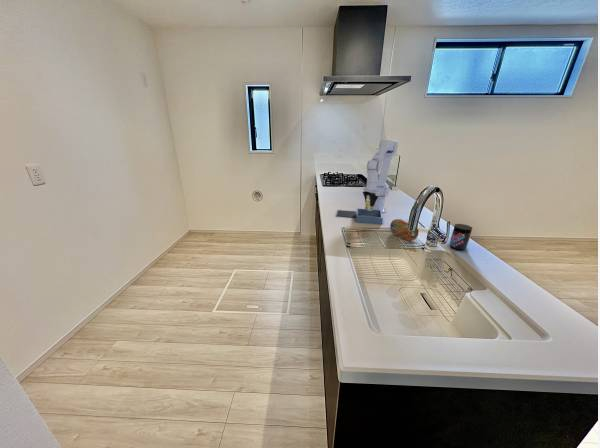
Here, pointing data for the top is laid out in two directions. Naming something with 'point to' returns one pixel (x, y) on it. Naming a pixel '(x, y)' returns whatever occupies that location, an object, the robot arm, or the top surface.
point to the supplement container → (460, 237)
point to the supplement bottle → (368, 204)
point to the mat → (346, 213)
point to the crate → (369, 219)
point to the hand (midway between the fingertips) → (369, 204)
